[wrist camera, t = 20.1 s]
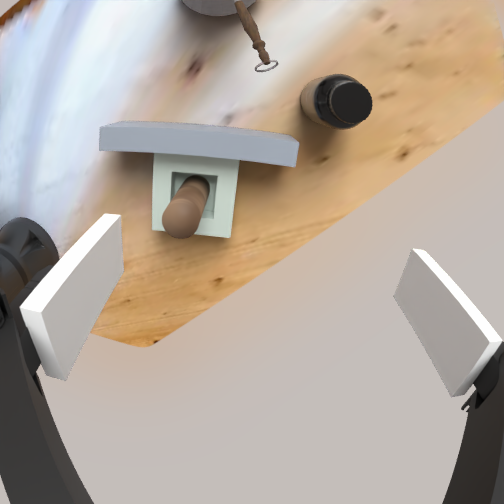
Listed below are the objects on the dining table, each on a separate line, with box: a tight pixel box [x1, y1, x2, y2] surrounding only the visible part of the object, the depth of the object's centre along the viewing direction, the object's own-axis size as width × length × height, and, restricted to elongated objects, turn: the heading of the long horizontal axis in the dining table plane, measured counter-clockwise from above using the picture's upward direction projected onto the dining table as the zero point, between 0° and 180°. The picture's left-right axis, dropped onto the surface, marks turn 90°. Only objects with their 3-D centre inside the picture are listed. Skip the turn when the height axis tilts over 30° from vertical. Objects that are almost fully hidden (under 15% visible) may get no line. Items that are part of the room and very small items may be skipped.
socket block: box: [152, 153, 240, 238], centre depth 43 cm, size 11×11×5 cm
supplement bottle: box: [301, 74, 372, 130], centre depth 34 cm, size 7×7×12 cm
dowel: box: [162, 175, 210, 239], centre depth 38 cm, size 4×4×12 cm
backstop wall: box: [99, 121, 299, 167], centre depth 38 cm, size 24×3×8 cm, turn 82°
